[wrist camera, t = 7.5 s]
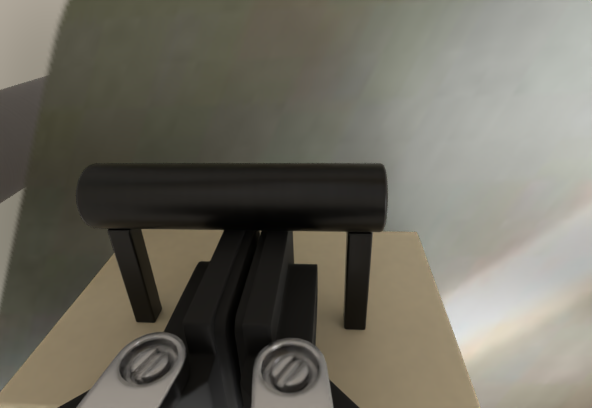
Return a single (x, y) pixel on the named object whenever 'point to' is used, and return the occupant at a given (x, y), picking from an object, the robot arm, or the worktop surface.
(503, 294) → the worktop surface
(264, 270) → the robot arm
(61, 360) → the beige drawer
